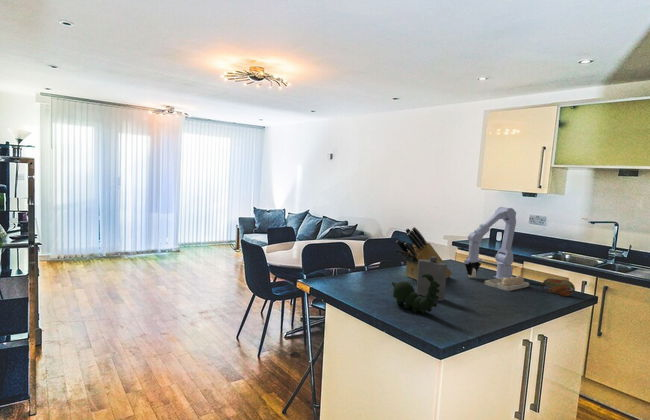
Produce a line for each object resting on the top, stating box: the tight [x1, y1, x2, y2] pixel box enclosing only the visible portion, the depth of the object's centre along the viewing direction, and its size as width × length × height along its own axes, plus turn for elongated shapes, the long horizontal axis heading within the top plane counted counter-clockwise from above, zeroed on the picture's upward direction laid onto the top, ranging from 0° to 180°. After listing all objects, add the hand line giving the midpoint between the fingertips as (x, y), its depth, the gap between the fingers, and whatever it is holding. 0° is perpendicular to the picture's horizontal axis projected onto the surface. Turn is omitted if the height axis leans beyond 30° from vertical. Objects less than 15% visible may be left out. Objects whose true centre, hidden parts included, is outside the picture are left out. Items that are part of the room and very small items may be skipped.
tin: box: [542, 277, 576, 297], centre depth 209 cm, size 15×3×8 cm, turn 62°
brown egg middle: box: [509, 276, 517, 285], centre depth 218 cm, size 4×4×6 cm
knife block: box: [395, 226, 453, 281], centre depth 229 cm, size 11×35×31 cm, turn 115°
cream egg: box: [467, 268, 477, 279], centre depth 235 cm, size 4×4×6 cm
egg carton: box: [483, 277, 530, 292], centre depth 221 cm, size 21×14×3 cm
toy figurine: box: [391, 273, 440, 314], centre depth 172 cm, size 9×19×25 cm
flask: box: [415, 257, 448, 302], centre depth 192 cm, size 15×6×20 cm, turn 45°
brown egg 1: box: [502, 278, 511, 287], centre depth 214 cm, size 4×4×6 cm
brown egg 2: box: [515, 275, 525, 284], centre depth 222 cm, size 4×4×6 cm
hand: (471, 274), depth 235 cm, fingers closed on cream egg, 4 cm apart
